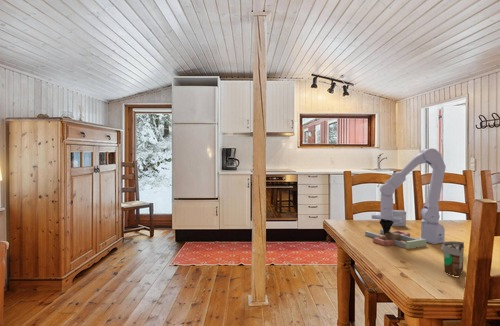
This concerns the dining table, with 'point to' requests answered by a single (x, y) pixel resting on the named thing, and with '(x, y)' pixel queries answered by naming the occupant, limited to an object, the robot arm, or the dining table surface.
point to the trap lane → (403, 235)
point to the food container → (453, 257)
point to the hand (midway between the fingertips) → (386, 235)
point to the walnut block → (392, 236)
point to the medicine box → (399, 215)
